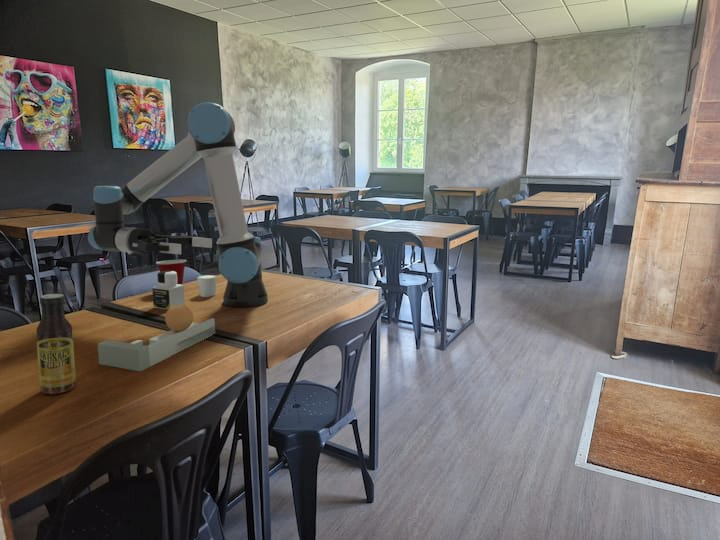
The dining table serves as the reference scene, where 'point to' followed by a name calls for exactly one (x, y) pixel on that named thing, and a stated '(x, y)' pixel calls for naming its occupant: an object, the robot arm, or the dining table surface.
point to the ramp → (152, 347)
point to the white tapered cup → (207, 285)
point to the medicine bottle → (168, 291)
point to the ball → (179, 318)
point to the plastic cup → (173, 268)
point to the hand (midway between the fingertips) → (196, 246)
